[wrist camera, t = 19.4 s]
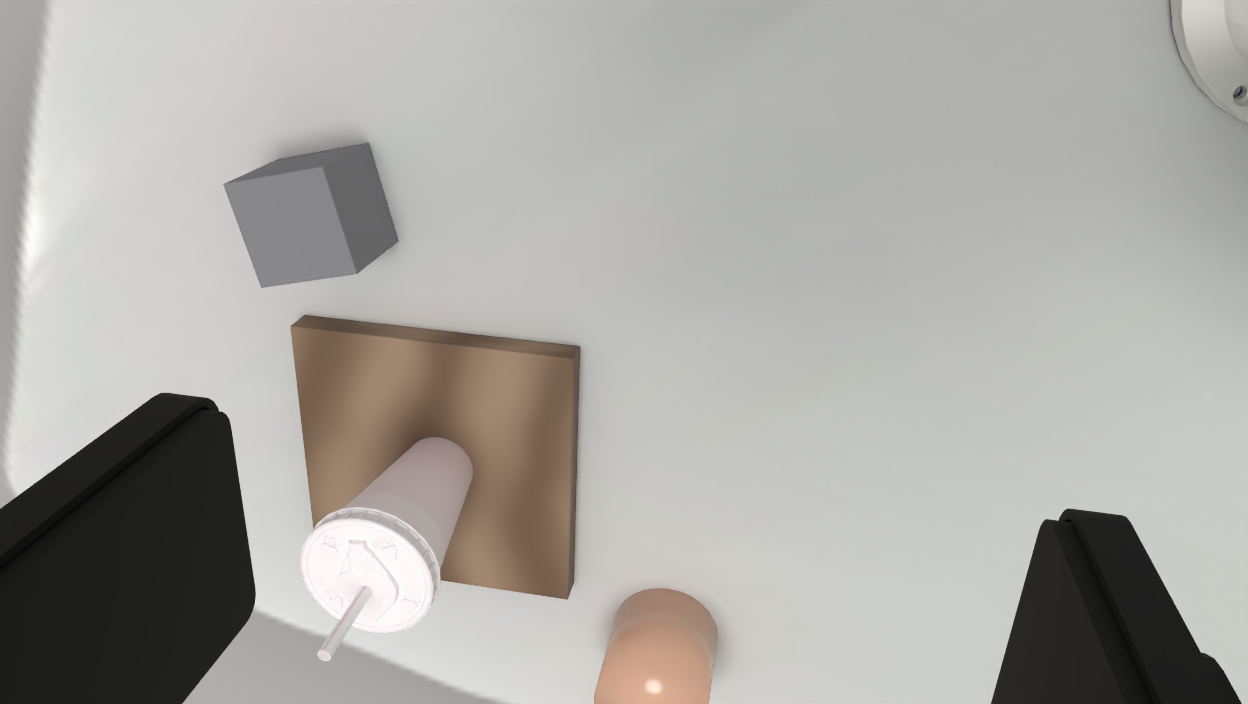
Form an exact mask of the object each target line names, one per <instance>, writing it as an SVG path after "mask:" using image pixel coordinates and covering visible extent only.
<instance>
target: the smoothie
mask: <svg viewBox="0 0 1248 704" xmlns="http://www.w3.org/2000/svg"><path fill="white" fill-rule="evenodd" d="M472 477H473V467H472V463H471V460H470V458H469V457H468V455H467V454H466V452H465V451H464V450H463V449H462V448H461V447H460V446H458V445H457V444H456V443H454V442H452V441H450V440H448V439H445V438H440V437H428V438H424V439H422V440H420V441H418V442H417V443H415V444H414V445H413V446H412V447H411V448H410V449H409V450H408V451H407V452H405V453H404V454H403V455H402V456H401V457H400V458H399V459H398V460H397V461H395V462H394V463H393V464H392V465H391V466H390V467H389V468H388V469H387V470H386V471H384V472H383V473H382V474H381V475H380V476H379V477H378V478H377V479H376V480H374V481H373V482H372V483H371V484H370V485H369V486H368V487H367V488H366V489H365V490H363V491H362V492H361V493H360V494H359V495H358V496H357V497H356V498H355V499H353V500H352V501H351V502H350V503H349V504H348V505H347V506H345V507H344V508H342V509H340V510H337V511H335V512H332V513H330V514H328V515H327V516H325V517H324V518H323V519H322V520H321V521H319V522H318V523H317V524H316V526H315V528H314V530H313V531H312V533H311V534H310V536H309V537H308V538H307V540H306V542H305V544H304V546H303V549H302V553H301V571H302V575H303V578H304V581H305V583H306V586H307V588H308V589H309V591H310V593H311V594H312V596H313V597H314V599H315V600H316V601H317V602H318V603H319V604H320V606H321V607H322V608H324V609H325V610H326V611H327V612H328V613H329V614H331V615H332V616H333V617H335V618H337V619H338V620H339V622H338V623H337V625H336V626H335V628H334V629H333V631H332V632H331V634H330V635H329V637H328V638H327V640H326V641H325V643H324V644H323V646H322V648H321V649H320V650H319V652H318V657H319V658H320V659H321V660H323V661H328V660H330V658H331V657H332V655H333V654H334V652H335V650H336V649H337V647H338V646H339V644H340V643H341V641H342V640H343V638H344V636H345V635H346V633H347V632H348V630H349V629H350V627H351V626H352V627H354V628H357V629H360V630H364V631H368V632H375V633H391V632H397V631H401V630H404V629H407V628H409V627H411V626H413V625H414V624H416V623H417V622H419V621H420V620H421V619H422V618H423V617H424V615H425V614H426V613H427V611H428V609H429V607H430V606H431V605H432V603H433V602H434V600H435V599H436V598H437V595H438V591H439V588H440V584H441V578H440V568H441V565H442V563H443V559H444V556H445V553H446V551H447V548H448V545H449V542H450V539H451V537H452V534H453V531H454V528H455V525H456V523H457V520H458V517H459V514H460V511H461V509H462V506H463V503H464V500H465V497H466V495H467V492H468V489H469V486H470V483H471V481H472Z"/></svg>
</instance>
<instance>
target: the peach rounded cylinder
mask: <svg viewBox="0 0 1248 704" xmlns="http://www.w3.org/2000/svg"><path fill="white" fill-rule="evenodd" d="M716 642H717V629H716V625H715V622H714V620H713V618H712V616H711V614H710V613H709V612H708V610H707V609H706V608H705V607H704V606H703V605H702V604H701V603H700V602H698V601H697V600H695V599H694V598H692V597H690V596H689V595H686V594H684V593H682V592H678V591H675V590H670V589H648V590H644V591H641V592H638V593H636V594H634V595H632V596H630V597H629V598H628V599H626V600H625V601H624V602H623V603H622V605H621V606H620V607H619V609H618V611H617V614H616V617H615V620H614V624H613V628H612V631H611V635H610V639H609V642H608V646H607V650H606V653H605V657H604V661H603V664H602V668H601V672H600V675H599V679H598V683H597V686H596V690H595V695H594V704H709V698H710V690H711V682H712V674H713V666H714V658H715V650H716Z"/></svg>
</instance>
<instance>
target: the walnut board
mask: <svg viewBox="0 0 1248 704" xmlns="http://www.w3.org/2000/svg"><path fill="white" fill-rule="evenodd" d="M291 335H292V344H293V353H294V361H295V370H296V379H297V388H298V396H299V405H300V414H301V423H302V432H303V440H304V449H305V458H306V467H307V475H308V484H309V493H310V502H311V510H312V519H313V528H315V526H316V524H317V523H318V522H319V521H321V520H322V519H323V518H324V517H325V516H327V515H328V514H330V513H332V512H335V511H337V510H340V509H342V508H344V507H345V506H347V505H348V504H349V503H350V502H351V501H352V500H353V499H355V498H356V497H357V496H358V495H359V494H360V493H361V492H362V491H363V490H365V489H366V488H367V487H368V486H369V485H370V484H371V483H372V482H373V481H374V480H376V479H377V478H378V477H379V476H380V475H381V474H382V473H383V472H384V471H386V470H387V469H388V468H389V467H390V466H391V465H392V464H393V463H394V462H395V461H397V460H398V459H399V458H400V457H401V456H402V455H403V454H404V453H405V452H407V451H408V450H409V449H410V448H411V447H412V446H413V445H414V444H415V443H417V442H418V441H420V440H422V439H424V438H428V437H440V438H445V439H448V440H450V441H452V442H454V443H456V444H457V445H458V446H460V447H461V448H462V449H463V450H464V451H465V452H466V454H467V455H468V457H469V458H470V460H471V463H472V467H473V477H472V481H471V483H470V486H469V489H468V492H467V495H466V497H465V500H464V503H463V506H462V509H461V511H460V514H459V517H458V520H457V523H456V525H455V528H454V531H453V534H452V537H451V539H450V542H449V545H448V548H447V551H446V553H445V556H444V559H443V563H442V565H441V568H440V578H441V580H443V581H449V582H456V583H462V584H469V585H476V586H482V587H489V588H495V589H502V590H509V591H515V592H522V593H528V594H535V595H542V596H548V597H555V598H561V599H568V597H569V594H570V591H571V589H572V586H573V583H574V547H575V509H576V472H577V434H578V397H579V359H580V347H578V346H569V345H561V344H552V343H543V342H534V341H525V340H517V339H508V338H499V337H490V336H481V335H473V334H464V333H455V332H446V331H437V330H428V329H420V328H411V327H402V326H393V325H384V324H376V323H367V322H358V321H349V320H340V319H332V318H323V317H314V316H305V315H304V316H303V317H302V318H300V319H299V320H298V321H296V322H295V323H294V324H293V325H291Z"/></svg>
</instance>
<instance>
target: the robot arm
mask: <svg viewBox="0 0 1248 704" xmlns="http://www.w3.org/2000/svg"><path fill="white" fill-rule="evenodd" d="M1170 1H1171V14H1172V28H1173V33H1174V37H1175V40H1176V43H1177V47H1178V50H1179V53H1180V57H1181V59H1182V61H1183V63H1184V64H1185V66H1186V68H1187V70H1188V71H1189V73H1190V75H1191V77H1192V78H1193V80H1194V82H1195V83H1196V84H1197V86H1198V87H1199V88H1200V89H1201V90H1202V91H1203V92H1204V93H1205V94H1206V95H1207V96H1208V97H1209V98H1210V99H1211V100H1212V101H1213V102H1214V103H1215V104H1216V105H1218V106H1219V107H1221V108H1222V109H1224V110H1225V111H1227V112H1228V113H1230V114H1231V115H1233V116H1234V117H1236V118H1237V119H1239V120H1241V121H1244V122H1246V123H1248V0H1170ZM1239 86H1242V93H1241V94H1240V95H1239V96H1238V97H1235V98H1233V93H1234V92H1235V90H1236V88H1238V87H1239ZM255 597H256V593H255V584H254V577H253V570H252V564H251V557H250V550H249V544H248V537H247V530H246V524H245V517H244V510H243V504H242V497H241V490H240V484H239V477H238V470H237V464H236V457H235V450H234V444H233V437H232V430H231V425H230V421H229V418H228V417H227V415H226V414H224V413H223V412H219V410H218V407H217V406H216V404H215V402H214V401H212V400H211V399H209V398H203V397H195V396H187V395H180V394H172V393H160V394H158V395H156V396H154V397H153V398H151V399H150V400H148V401H147V402H146V403H144V404H143V405H142V406H140V407H139V408H138V409H136V410H135V411H133V412H132V413H131V414H129V415H128V416H127V417H125V418H124V419H123V420H121V421H120V422H118V423H117V424H116V425H114V426H113V427H112V428H110V429H109V430H107V431H106V432H105V433H103V434H102V435H101V436H99V437H98V438H97V439H95V440H94V441H92V442H91V443H90V444H88V445H87V446H86V447H84V448H83V449H81V450H80V451H79V452H77V453H76V454H75V455H73V456H72V457H71V458H69V459H68V460H66V461H65V462H64V463H62V464H61V465H60V466H58V467H57V468H56V469H54V470H53V471H51V472H50V473H49V474H47V475H46V476H45V477H43V478H42V479H40V480H39V481H38V482H36V483H35V484H34V485H32V486H31V487H30V488H28V489H27V490H25V491H24V492H23V493H21V494H20V495H19V496H17V497H16V498H15V499H13V500H12V501H10V502H9V503H8V504H6V505H5V506H4V507H2V508H1V509H0V704H182V703H183V702H184V701H185V699H186V698H187V697H188V696H189V694H190V693H191V692H192V691H193V689H194V688H195V687H196V685H197V684H198V683H199V682H200V680H201V679H202V678H203V677H204V675H205V674H206V673H207V672H208V670H209V669H210V668H211V667H212V665H213V664H214V663H215V662H216V660H217V659H218V658H219V657H220V655H221V654H222V653H223V652H224V650H225V649H226V648H227V647H228V645H229V644H230V643H231V641H232V640H233V639H234V638H235V637H236V635H237V634H238V633H239V631H240V630H241V629H242V628H243V626H244V625H245V624H246V622H247V621H248V619H249V618H250V615H251V613H252V611H253V607H254V604H255ZM991 704H1242V703H1241V701H1240V700H1239V698H1238V696H1237V694H1236V692H1235V691H1234V689H1233V687H1232V685H1231V683H1230V682H1229V680H1228V678H1227V676H1226V674H1225V673H1224V671H1223V669H1222V668H1221V667H1220V666H1219V664H1218V663H1217V662H1216V660H1215V659H1214V658H1212V657H1210V656H1209V655H1207V654H1205V653H1201V652H1200V650H1199V648H1198V647H1197V645H1196V643H1195V641H1194V639H1193V637H1192V635H1191V634H1190V632H1189V630H1188V628H1187V626H1186V624H1185V622H1184V621H1183V619H1182V617H1181V615H1180V613H1179V611H1178V609H1177V608H1176V606H1175V604H1174V602H1173V600H1172V598H1171V596H1170V595H1169V593H1168V591H1167V589H1166V587H1165V585H1164V583H1163V582H1162V580H1161V578H1160V576H1159V574H1158V572H1157V571H1156V569H1155V567H1154V565H1153V563H1152V561H1151V559H1150V558H1149V556H1148V554H1147V552H1146V550H1145V548H1144V546H1143V545H1142V543H1141V541H1140V539H1139V537H1138V535H1137V533H1136V532H1135V530H1134V528H1133V526H1132V524H1131V522H1130V521H1129V520H1128V519H1127V517H1125V516H1122V515H1115V514H1107V513H1100V512H1092V511H1084V510H1076V509H1066V510H1065V511H1064V512H1063V513H1062V515H1061V516H1060V518H1059V521H1056V520H1048V519H1046V520H1045V521H1043V523H1042V525H1041V527H1040V529H1039V532H1038V536H1037V539H1036V543H1035V547H1034V550H1033V554H1032V558H1031V561H1030V565H1029V568H1028V572H1027V576H1026V579H1025V583H1024V586H1023V590H1022V594H1021V597H1020V601H1019V605H1018V608H1017V612H1016V615H1015V619H1014V623H1013V626H1012V630H1011V633H1010V637H1009V641H1008V644H1007V648H1006V652H1005V655H1004V659H1003V662H1002V666H1001V670H1000V673H999V677H998V680H997V684H996V688H995V691H994V695H993V699H992V702H991Z"/></svg>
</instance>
